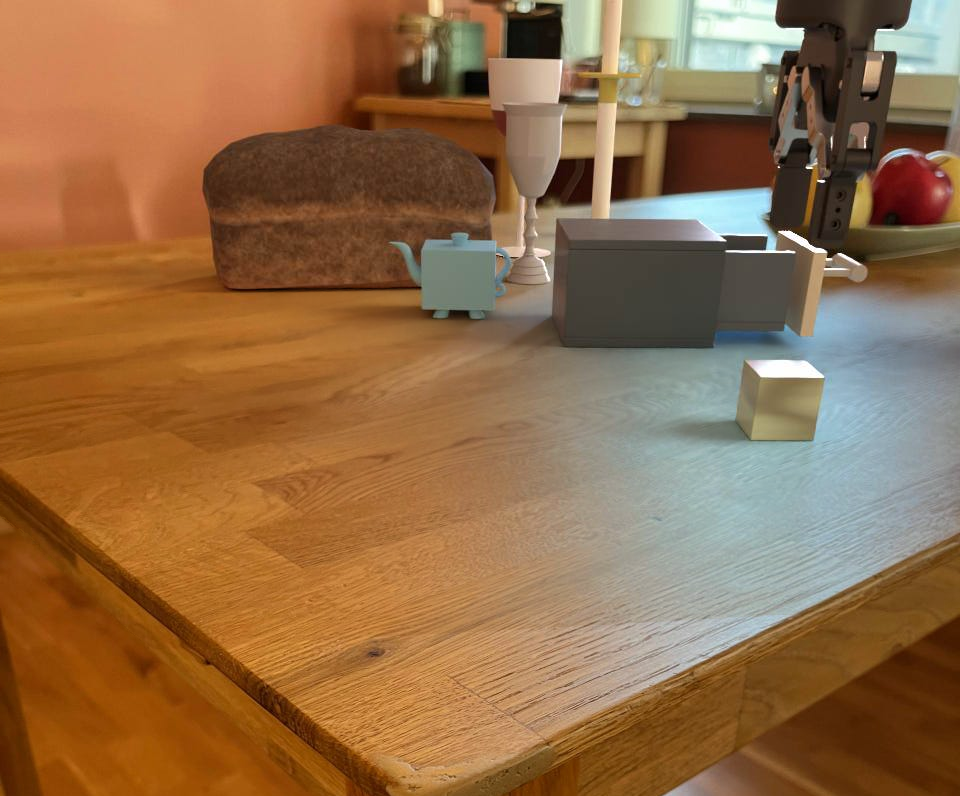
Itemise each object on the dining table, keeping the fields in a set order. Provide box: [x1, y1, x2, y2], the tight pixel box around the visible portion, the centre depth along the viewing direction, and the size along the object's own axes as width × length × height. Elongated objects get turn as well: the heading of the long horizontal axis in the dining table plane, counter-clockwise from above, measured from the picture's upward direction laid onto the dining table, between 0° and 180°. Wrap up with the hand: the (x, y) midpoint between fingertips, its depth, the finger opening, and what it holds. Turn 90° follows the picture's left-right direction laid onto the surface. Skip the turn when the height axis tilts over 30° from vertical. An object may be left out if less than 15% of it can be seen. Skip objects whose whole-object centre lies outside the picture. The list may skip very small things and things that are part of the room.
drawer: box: [716, 230, 868, 338], centre depth 95 cm, size 17×11×7 cm, turn 91°
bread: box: [201, 123, 497, 290], centre depth 113 cm, size 15×32×16 cm, turn 98°
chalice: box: [502, 102, 568, 285], centre depth 113 cm, size 7×7×18 cm
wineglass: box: [487, 57, 563, 258], centre depth 127 cm, size 9×10×22 cm
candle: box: [576, 0, 642, 219], centre depth 135 cm, size 10×10×38 cm
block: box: [735, 359, 826, 441], centre depth 71 cm, size 4×4×4 cm
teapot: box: [389, 233, 512, 320], centre depth 101 cm, size 12×6×8 cm, turn 89°
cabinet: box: [551, 217, 727, 349], centre depth 95 cm, size 14×13×9 cm
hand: (804, 236), depth 66 cm, fingers open, 8 cm apart
